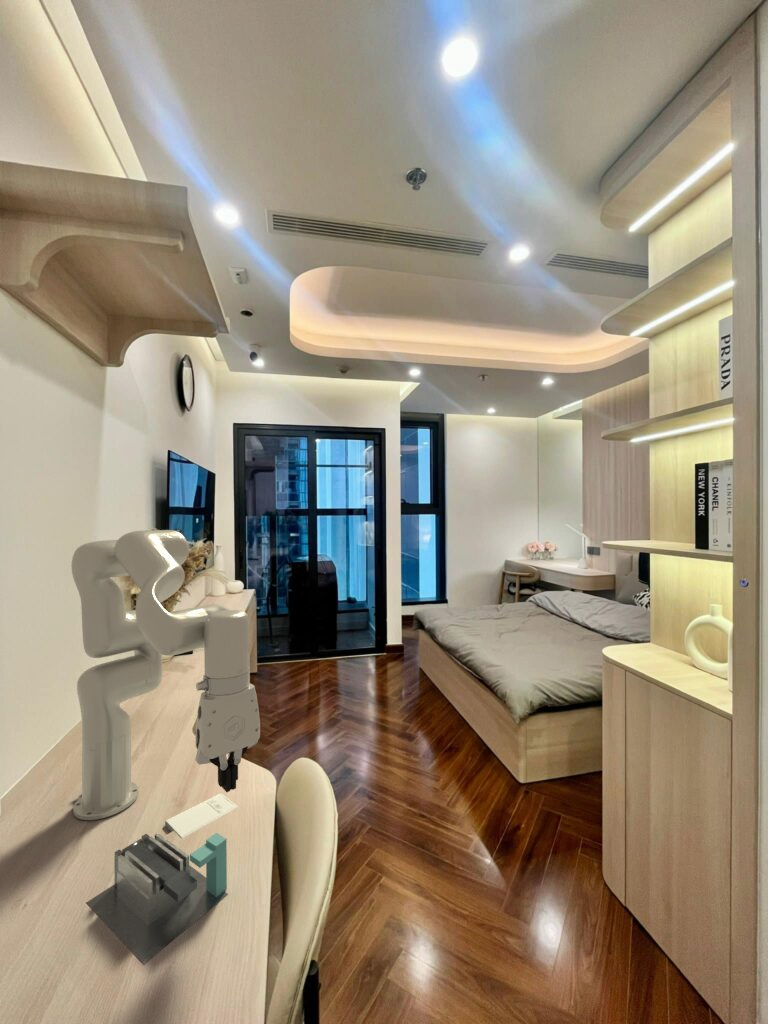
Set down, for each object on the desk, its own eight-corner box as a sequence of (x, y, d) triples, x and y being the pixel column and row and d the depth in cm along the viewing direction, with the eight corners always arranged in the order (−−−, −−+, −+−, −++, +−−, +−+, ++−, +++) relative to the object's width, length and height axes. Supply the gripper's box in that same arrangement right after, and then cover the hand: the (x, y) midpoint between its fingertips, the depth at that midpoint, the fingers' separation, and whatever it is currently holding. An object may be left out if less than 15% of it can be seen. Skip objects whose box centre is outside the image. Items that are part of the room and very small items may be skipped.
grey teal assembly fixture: (86, 908, 72) (86, 863, 72) (168, 854, 84) (168, 815, 84) (143, 971, 62) (143, 918, 62) (228, 900, 73) (228, 855, 74)
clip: (190, 902, 72) (189, 850, 72) (216, 881, 76) (216, 832, 76) (200, 910, 70) (199, 857, 71) (226, 889, 75) (226, 839, 75)
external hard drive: (165, 827, 92) (220, 798, 101) (182, 846, 87) (239, 813, 96) (164, 819, 92) (220, 791, 101) (182, 838, 87) (239, 806, 96)
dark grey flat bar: (121, 856, 77) (121, 848, 77) (139, 845, 79) (139, 837, 79) (177, 903, 67) (177, 893, 67) (197, 888, 69) (197, 879, 69)
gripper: (190, 700, 69) (190, 817, 69) (276, 677, 79) (276, 779, 79) (176, 687, 75) (176, 795, 75) (257, 667, 85) (258, 762, 85)
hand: (228, 786), depth 77 cm, fingers closed
